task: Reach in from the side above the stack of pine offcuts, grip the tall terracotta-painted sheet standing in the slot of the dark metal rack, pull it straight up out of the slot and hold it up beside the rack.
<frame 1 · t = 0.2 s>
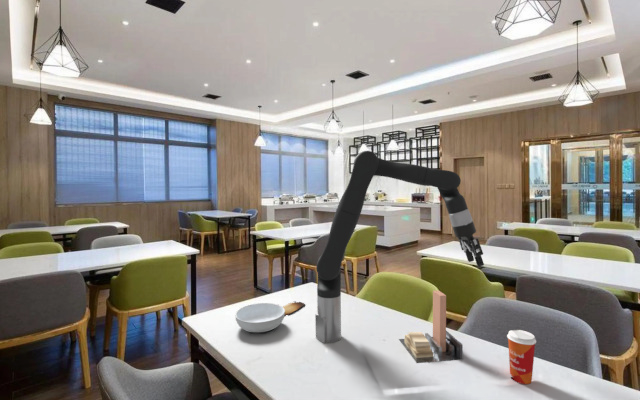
hand: (476, 263, 124), 30 cm above the table, tool tilted 20°, fingers open, 8 cm apart
serving bowl: (260, 327, 141), on the table
offcut stack: (419, 349, 118), point 1 cm above the table, touching rack
tall sheet: (439, 347, 119), point 1 cm above the table, touching rack
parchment: (286, 311, 160), on the table
paper cup: (520, 379, 102), on the table
rack: (428, 351, 119), on the table
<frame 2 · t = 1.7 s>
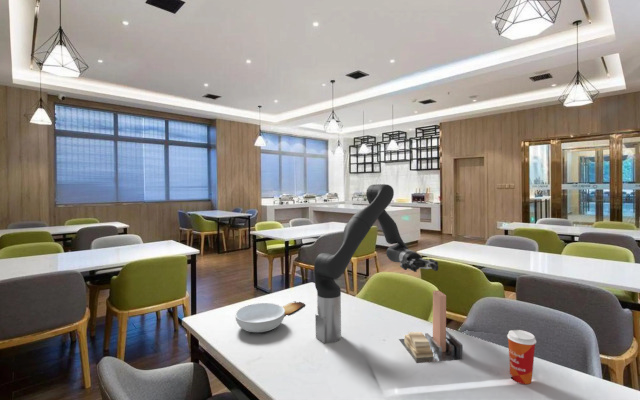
hand: (426, 268, 128), 27 cm above the table, tool horizontal, fingers open, 8 cm apart
nothing on the table moved.
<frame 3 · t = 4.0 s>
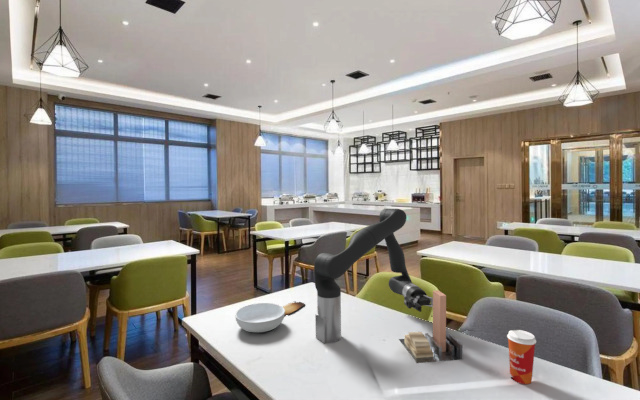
hand: (431, 308, 125), 13 cm above the table, tool horizontal, fingers open, 8 cm apart
nothing on the table moved.
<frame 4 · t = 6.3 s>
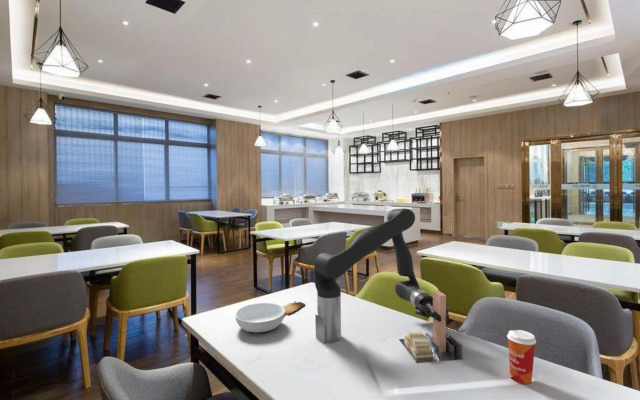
hand: (443, 318, 115), 13 cm above the table, tool horizontal, fingers closed on tall sheet, 2 cm apart
tall sheet: (439, 347, 119), point 1 cm above the table, touching gripper, rack
everything else where it was.
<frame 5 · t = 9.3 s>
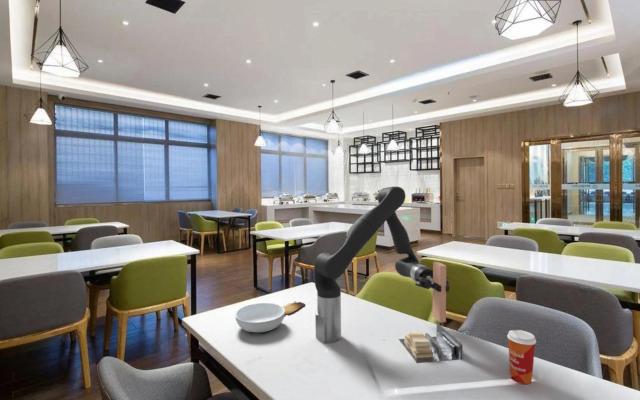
hand: (444, 289, 115), 24 cm above the table, tool horizontal, fingers closed on tall sheet
tall sheet: (439, 319, 119), point 12 cm above the table, touching gripper
everything else where it was.
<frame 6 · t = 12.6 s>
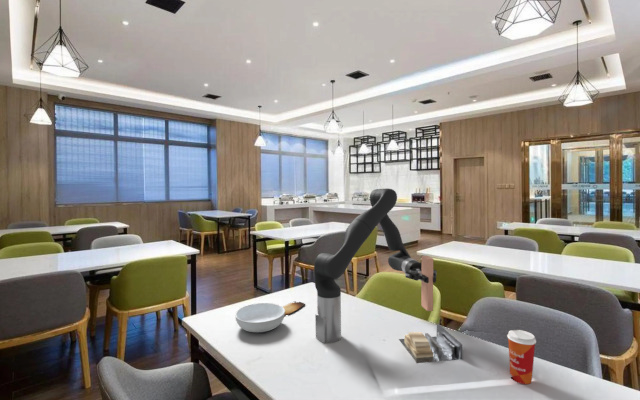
hand: (431, 280, 125), 24 cm above the table, tool horizontal, fingers closed on tall sheet
tall sheet: (427, 308, 129), point 12 cm above the table, touching gripper
everything else where it was.
at the end: the gripper is holding tall sheet; tall sheet point 11.9 cm above the table; offcut stack moved 0.1 cm from its start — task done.
